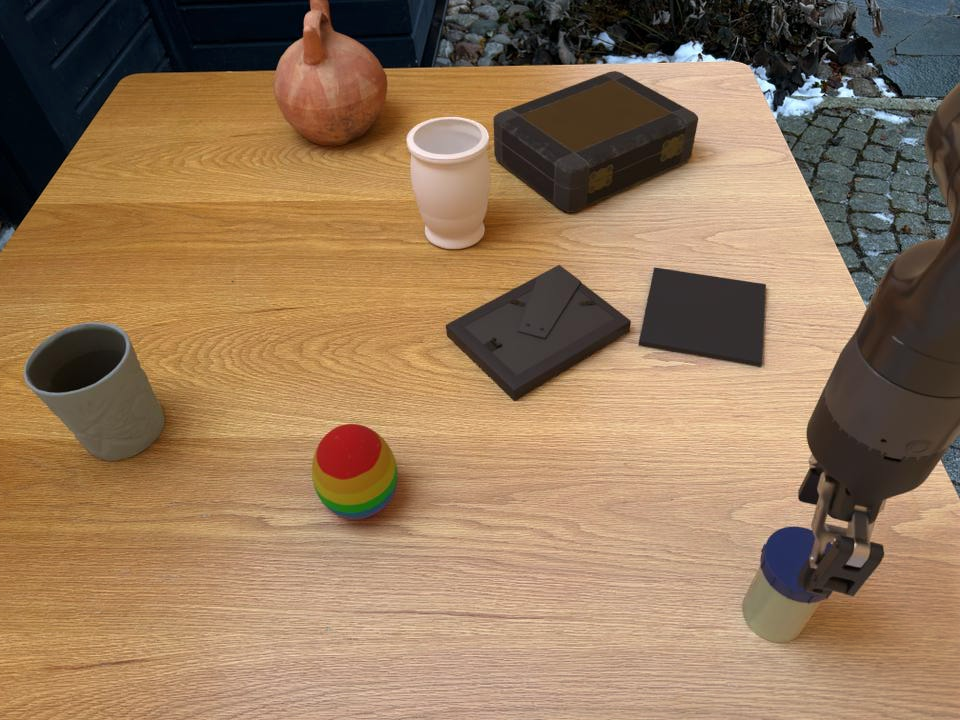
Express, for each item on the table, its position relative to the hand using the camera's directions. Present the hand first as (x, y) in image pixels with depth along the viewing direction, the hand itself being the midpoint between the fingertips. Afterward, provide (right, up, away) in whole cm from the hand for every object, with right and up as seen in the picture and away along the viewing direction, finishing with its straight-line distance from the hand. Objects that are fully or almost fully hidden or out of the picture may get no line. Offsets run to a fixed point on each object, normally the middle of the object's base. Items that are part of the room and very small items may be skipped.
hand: (811, 541), depth 57 cm
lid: (0, -2, +2) cm, 3 cm away
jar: (-29, +32, +49) cm, 65 cm away
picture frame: (-18, +17, +34) cm, 42 cm away
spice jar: (+1, -9, +9) cm, 12 cm away
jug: (-49, +53, +70) cm, 100 cm away
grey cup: (-65, +6, +26) cm, 70 cm away
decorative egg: (-37, 0, +19) cm, 42 cm away
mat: (+2, +19, +35) cm, 40 cm away
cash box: (-8, +45, +60) cm, 76 cm away
